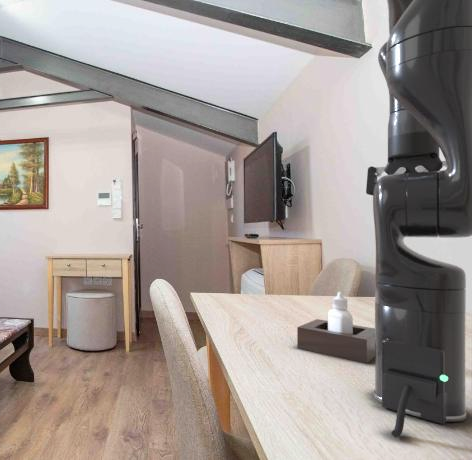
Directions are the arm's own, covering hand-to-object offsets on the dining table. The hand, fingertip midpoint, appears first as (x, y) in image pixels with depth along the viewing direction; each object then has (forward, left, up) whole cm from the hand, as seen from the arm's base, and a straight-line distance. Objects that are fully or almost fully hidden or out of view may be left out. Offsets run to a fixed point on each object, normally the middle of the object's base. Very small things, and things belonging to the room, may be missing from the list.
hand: (412, 214), depth 76 cm
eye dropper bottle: (-8, +10, -28) cm, 31 cm away
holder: (-8, +10, -28) cm, 31 cm away
